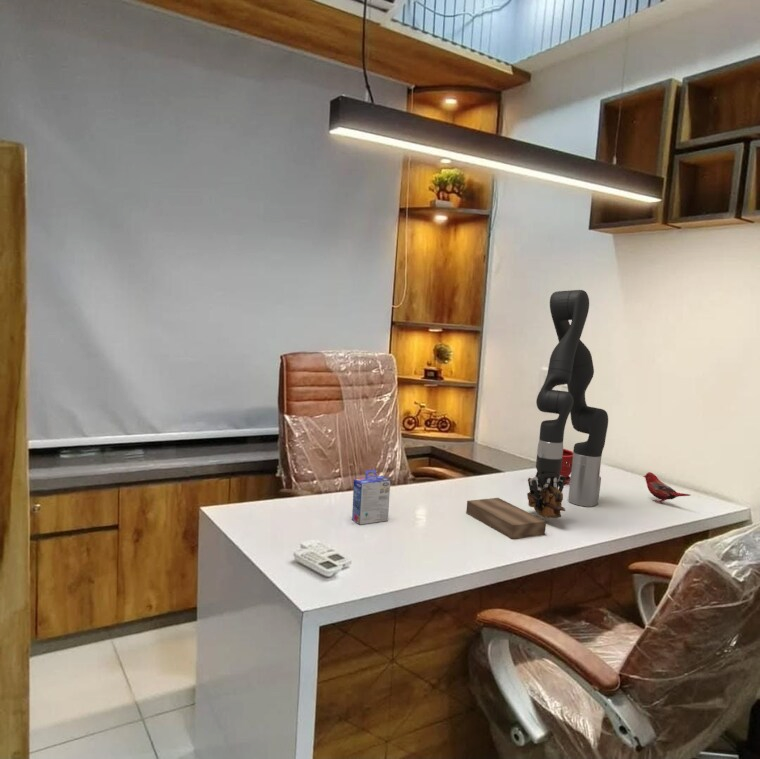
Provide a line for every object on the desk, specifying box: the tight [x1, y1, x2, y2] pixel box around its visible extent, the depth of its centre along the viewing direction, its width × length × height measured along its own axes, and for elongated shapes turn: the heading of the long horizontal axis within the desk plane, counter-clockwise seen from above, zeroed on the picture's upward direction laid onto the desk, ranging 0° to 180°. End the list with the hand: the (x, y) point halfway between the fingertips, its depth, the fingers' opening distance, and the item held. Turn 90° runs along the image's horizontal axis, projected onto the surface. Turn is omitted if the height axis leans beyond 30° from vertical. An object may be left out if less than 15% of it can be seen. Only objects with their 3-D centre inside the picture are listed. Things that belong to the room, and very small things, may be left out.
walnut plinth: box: [465, 497, 547, 540], centre depth 179 cm, size 12×22×4 cm, turn 27°
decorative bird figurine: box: [642, 472, 691, 505], centre depth 210 cm, size 3×18×10 cm, turn 34°
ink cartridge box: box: [351, 469, 391, 525], centre depth 173 cm, size 10×6×14 cm, turn 121°
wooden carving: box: [527, 486, 566, 519], centre depth 184 cm, size 16×5×10 cm, turn 25°
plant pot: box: [559, 448, 573, 484], centre depth 231 cm, size 13×13×12 cm
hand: (544, 509), depth 184 cm, fingers closed on wooden carving, 4 cm apart
